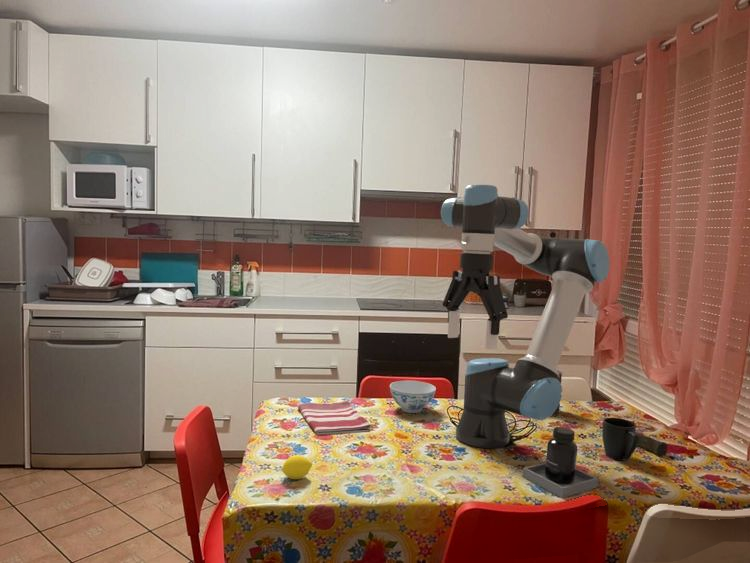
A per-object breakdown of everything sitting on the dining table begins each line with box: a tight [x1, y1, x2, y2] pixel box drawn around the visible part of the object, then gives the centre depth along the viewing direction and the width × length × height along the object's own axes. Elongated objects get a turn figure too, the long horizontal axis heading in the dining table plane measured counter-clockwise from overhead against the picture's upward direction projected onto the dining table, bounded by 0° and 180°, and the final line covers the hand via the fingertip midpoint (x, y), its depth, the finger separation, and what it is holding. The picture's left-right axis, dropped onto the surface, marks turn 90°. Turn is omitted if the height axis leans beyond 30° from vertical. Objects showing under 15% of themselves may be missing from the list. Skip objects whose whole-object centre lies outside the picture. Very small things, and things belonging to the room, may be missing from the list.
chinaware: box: [389, 380, 437, 414], centre depth 187 cm, size 15×15×8 cm
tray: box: [521, 462, 599, 498], centre depth 137 cm, size 12×12×2 cm
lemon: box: [281, 454, 313, 480], centre depth 132 cm, size 7×5×5 cm
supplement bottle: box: [545, 426, 578, 484], centre depth 136 cm, size 7×7×12 cm
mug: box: [601, 417, 639, 461], centre depth 153 cm, size 8×12×10 cm
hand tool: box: [636, 431, 669, 457], centre depth 165 cm, size 19×4×5 cm, turn 22°
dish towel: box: [297, 400, 371, 436], centre depth 174 cm, size 17×23×3 cm
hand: (471, 342), depth 134 cm, fingers open, 13 cm apart
